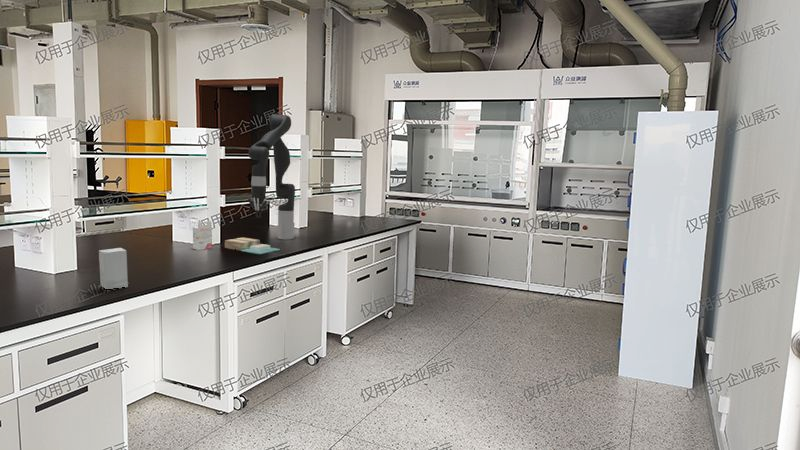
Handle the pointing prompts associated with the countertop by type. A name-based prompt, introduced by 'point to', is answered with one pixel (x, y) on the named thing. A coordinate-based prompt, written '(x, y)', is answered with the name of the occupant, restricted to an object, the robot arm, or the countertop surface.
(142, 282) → the countertop surface
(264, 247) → the slide case
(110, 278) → the skincare box
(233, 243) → the deck
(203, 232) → the ink cartridge box
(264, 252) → the mat
